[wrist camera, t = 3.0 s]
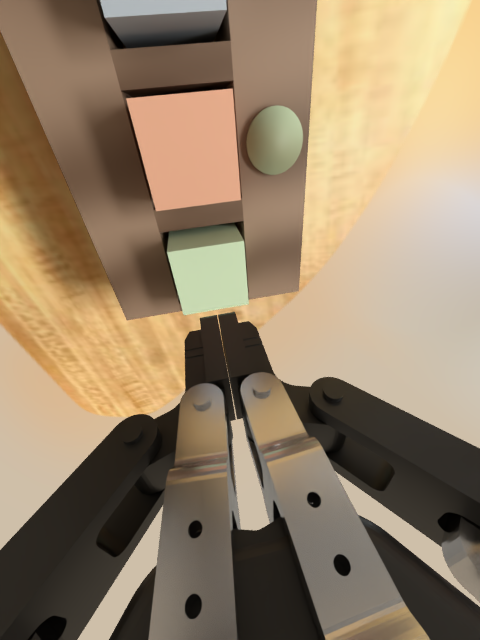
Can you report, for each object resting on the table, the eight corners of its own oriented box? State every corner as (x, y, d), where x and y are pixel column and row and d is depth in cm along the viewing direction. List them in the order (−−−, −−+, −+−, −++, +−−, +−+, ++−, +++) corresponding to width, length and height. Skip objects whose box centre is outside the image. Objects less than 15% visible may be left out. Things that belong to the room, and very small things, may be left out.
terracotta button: (140, 105, 13) (126, 98, 10) (218, 97, 14) (232, 88, 10) (161, 191, 16) (155, 211, 12) (227, 183, 16) (241, 200, 12)
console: (-8, -106, 11) (-131, -256, 6) (280, -112, 12) (336, -243, 8) (136, 284, 22) (126, 323, 17) (278, 261, 23) (300, 293, 18)
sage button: (169, 225, 17) (166, 252, 13) (231, 216, 17) (244, 240, 14) (183, 280, 19) (183, 315, 16) (236, 271, 20) (248, 304, 16)
